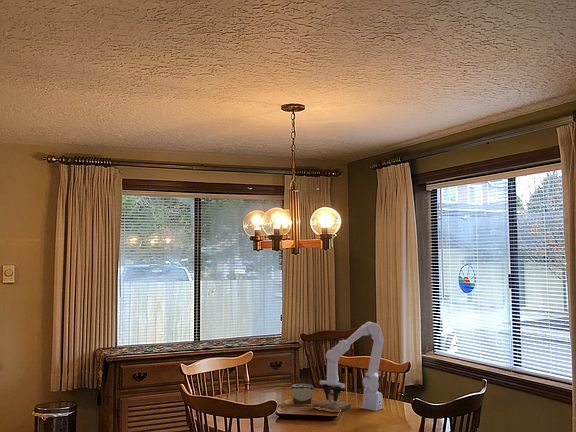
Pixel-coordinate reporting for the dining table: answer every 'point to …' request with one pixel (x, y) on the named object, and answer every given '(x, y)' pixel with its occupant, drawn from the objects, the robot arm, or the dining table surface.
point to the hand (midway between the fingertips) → (331, 400)
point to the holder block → (335, 407)
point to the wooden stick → (331, 399)
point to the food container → (302, 393)
